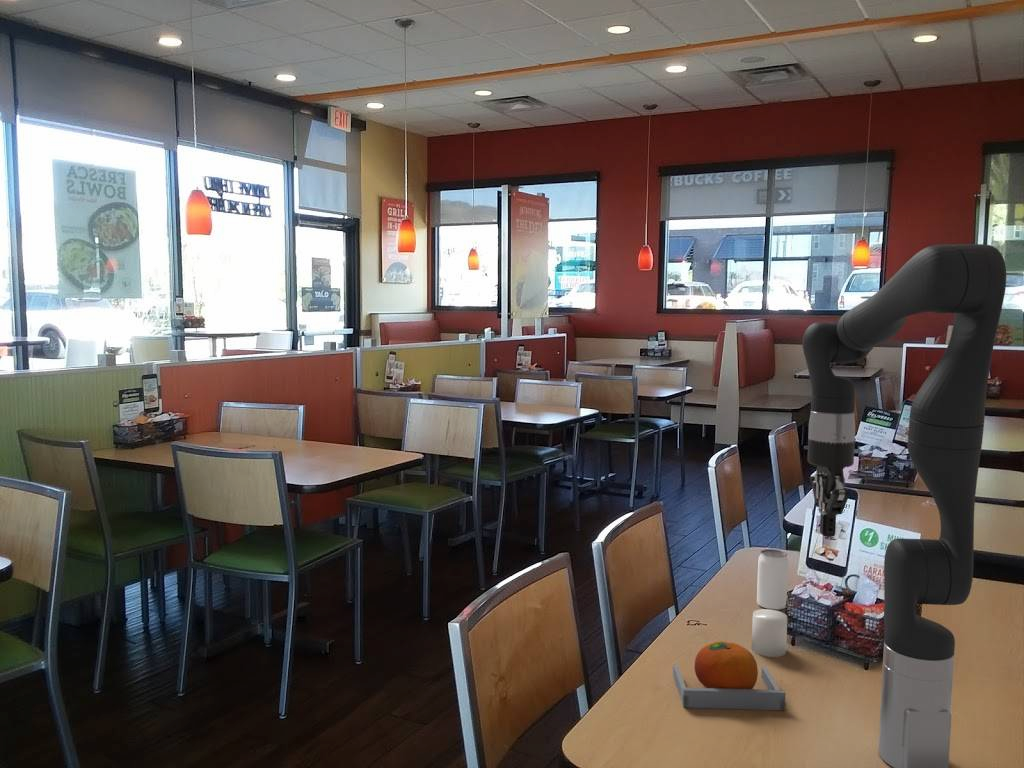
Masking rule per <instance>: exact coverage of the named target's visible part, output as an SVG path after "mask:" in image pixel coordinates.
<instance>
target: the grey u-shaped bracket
mask: <svg viewBox="0 0 1024 768" xmlns="http://www.w3.org/2000/svg"><path fill="white" fill-rule="evenodd" d="M672 667H673V668H672V677H673V679H674V682H675V684H676V688H677V691H678V694H679V697H680V701H681V703H682V706H683V708H686V709H688V708H689V709H720V710H722V709H723V710H724V709H725V710H726V709H727V710H729V709H730V710H761V711H762V710H764V711H770V710H771V711H785V710H786V709H785V708H786V691H785V690H784V689H780V687H779V686H778V685H777V683H776V681H775V679H774V678H773V676H772V674H771V672H770V670H769V669H768V667H767V666H761V672H760V673H761V674H760V678H761V680H762V681H763V683H764V685H765V686H766V688H767V689H760V688H759V689H758V688H757V689H756V688H755V689H754V688H752V689H721V688H706V687H686V684H685V682H684V678H683V675H682V673H681V670H680V667H679V664H673V665H672Z"/></svg>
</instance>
